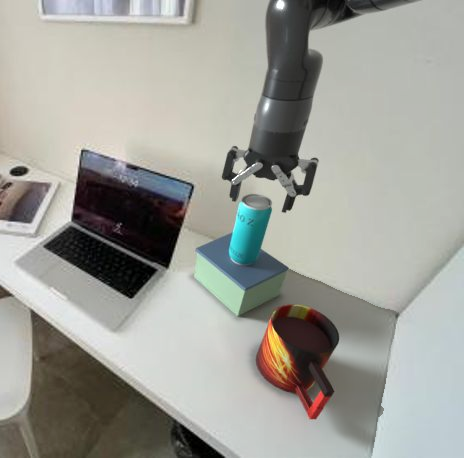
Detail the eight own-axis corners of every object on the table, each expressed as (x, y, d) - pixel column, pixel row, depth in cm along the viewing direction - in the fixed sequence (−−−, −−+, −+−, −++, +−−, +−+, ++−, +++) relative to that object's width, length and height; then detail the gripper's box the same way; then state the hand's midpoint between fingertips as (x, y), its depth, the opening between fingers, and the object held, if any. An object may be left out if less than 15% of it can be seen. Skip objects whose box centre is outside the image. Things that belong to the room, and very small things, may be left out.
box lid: (195, 250, 82) (195, 248, 81) (234, 233, 85) (235, 231, 84) (244, 291, 71) (245, 288, 70) (287, 270, 74) (288, 267, 74)
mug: (309, 425, 58) (335, 387, 51) (243, 357, 68) (257, 317, 61) (351, 398, 60) (382, 358, 53) (282, 337, 71) (299, 296, 64)
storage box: (193, 276, 86) (197, 252, 81) (231, 259, 89) (237, 235, 84) (237, 316, 76) (244, 291, 71) (278, 295, 79) (287, 270, 74)
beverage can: (238, 246, 80) (252, 189, 71) (262, 260, 76) (280, 201, 67) (221, 257, 78) (233, 200, 69) (245, 272, 74) (261, 213, 65)
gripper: (335, 118, 56) (305, 204, 66) (239, 109, 64) (225, 187, 73) (329, 136, 52) (298, 225, 61) (226, 124, 59) (213, 205, 69)
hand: (258, 204), depth 67 cm, fingers open, 8 cm apart
